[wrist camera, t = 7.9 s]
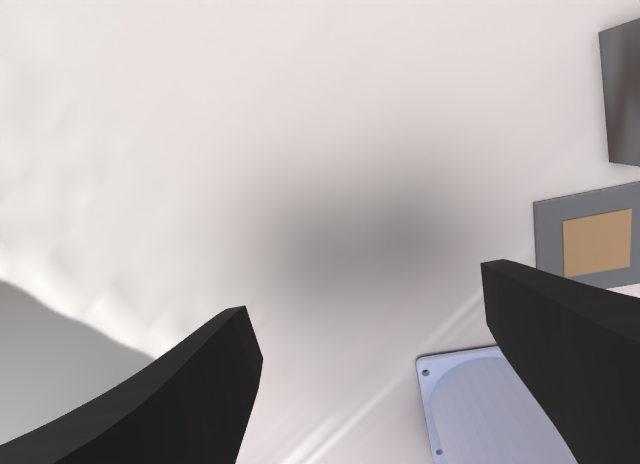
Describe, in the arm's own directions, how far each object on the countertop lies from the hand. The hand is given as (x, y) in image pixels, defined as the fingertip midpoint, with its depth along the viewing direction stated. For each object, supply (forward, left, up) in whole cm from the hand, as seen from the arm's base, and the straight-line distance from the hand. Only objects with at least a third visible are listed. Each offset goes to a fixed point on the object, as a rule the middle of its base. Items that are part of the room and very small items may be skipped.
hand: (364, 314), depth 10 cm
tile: (-4, -13, -10) cm, 17 cm away
